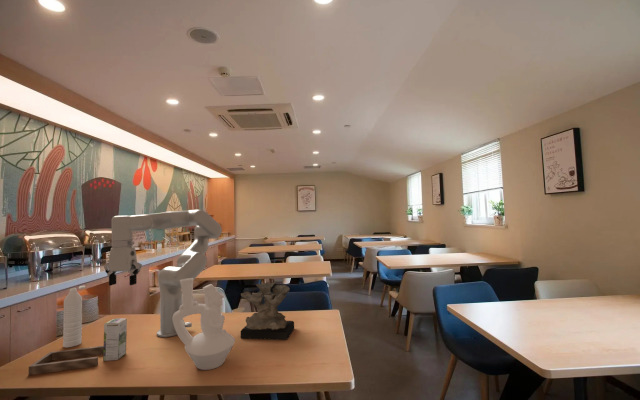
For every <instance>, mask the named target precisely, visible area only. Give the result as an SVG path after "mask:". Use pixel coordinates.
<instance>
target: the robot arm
mask: <svg viewBox="0 0 640 400" xmlns="http://www.w3.org/2000/svg"><path fill="white" fill-rule="evenodd" d="M187 227H195V228H194V231H193V233H194V234H193V235H194V236H193V237H194V238H193V239H194V240H193V242H192V243H191V244H190V246H189V247H188V248H186V249H185V251H183V252H182V253H181V254H180V255H179V256H178V258H177V260H176V265H177V266H174V265H170V266H169V265H168V266H166V267H164V268H162V269H161V270H160V271H159V273H158V275H157V276H158V278H157V279H158V280H157V281H158V287H159V292H160V293H159V294H160V299H159V303H160V304H159V305H160V306H159V307H160V308H159V309H160V311H159V312H160V318H159V319H160V321H159V322H160V324H159V325H160V326H159V327H160V329H158V330H157V332H156V336H157V337H160V338H168V337H175V336H178V334H177V332H176V330H175V328H174V324H173V320H172V317H173V314H174V313H175V312H177V311H178V310H179V307H180V306H181V305H183V295H182V288H181V284H180V280H182V279H187V278H193V281H194V280H196V278H197V277H198V276H199V275H200V274H201V273H202V272H203V270H205V268H206V266H207V264H208V257H207V256H206V253H207V251H208V249H209V239H210V240H211V239H213V240H214V239H218V238H219V237H220V236H221V235H222V233H223V229H222V225H220V223H219V222H218V221H217V220H216V219H214V218H213V216H211V215H210V214H209V213H208V212H206V211H205V210H203V209H189V210H188V209H187V210H173V211H163V212H157V213H146V214H133V215H115V216H112V218H111V248H110V252H109V258H108V262H107V263H106V264H104V265H103V268H104V271H105V272H104V273H106V274H107V277H108V286H109V287H110V286H113V285H117V272H118V273H119V272H128V273H129V286H134V285H136V284H137V281H138V279H137V275H138V274H139V272H140V271H141V268H142V266H143V265H142V264H141V263H140V262H139V261H138V257H137V251H136V247H135V246H133V245H134V244H135V241H134V240H133V238H134V237H133V232H148V231H149V230H168V229H170V230H171V229H178V228H187ZM183 323H184V325H185V327H186V328H192V327H193V324H192V323H193V322H190V321H188V322H185V319H183Z"/></svg>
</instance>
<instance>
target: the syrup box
mask: <svg viewBox="0 0 640 400" xmlns="http://www.w3.org/2000/svg"><path fill="white" fill-rule="evenodd" d="M127 325H128V318H122V317H120V318H119V317H118V318H112V319H111V320H109V321H107V322H105V323H104V325H103V346H104V350H103V354H102V355H103V359H102V360H103V361H104V362H106V361H108V362H109V361H117V360H120V359H121V358H122V357H123V356H125V355H127V336H128V335H127V330H128V328H127V327H128V326H127Z"/></svg>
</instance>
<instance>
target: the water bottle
mask: <svg viewBox="0 0 640 400" xmlns="http://www.w3.org/2000/svg"><path fill="white" fill-rule="evenodd" d="M86 287H87V286H86V285H80V286H78V289H79V290H81V289H85V288H86ZM78 289H77V287H73V288H72V287H71V288H70V289H69V292H68V294H67V295H66V296H65V297H64V299H63V319H62V320H63V326H62V327H63V332H62V333H63V334H62V340H63V341H62V347H63V348H65V349H66V348H73V347H77V346H79V345H81V344H82V343H83V341H82V340H83V338H82V335H83V329H82V327H83V320H82V319H83V297H82V295H81V294H80V293H79V292H78Z"/></svg>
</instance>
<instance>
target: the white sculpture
mask: <svg viewBox="0 0 640 400" xmlns="http://www.w3.org/2000/svg"><path fill="white" fill-rule="evenodd" d="M180 284H181V290H182V305H181V306H180V307H179V310H178V311H177V312H175V313H174V314H173V317H172V320H173V324H174V328H175V330H176V332H177V334H178V335H177V336H178V338H179V339H180V341H181V342H182V343H183V344H184V350H185V352H186V354H187V355H188V356H189V358H190V359H191V361H193V363H194V366H195V367H196V368H197V369H198V370H202V371H209V370H214V369H217V368H219V367H221V366H222V365H223V364H224V363H225V361H226V359H227V357H228V355H229V354H230V352H231V350H232V348H233V346H234V345H235V342H236V338H235V337H234V336H233V335H232V334H231V333H229V332H227V330H226V328H225V329H224V323H225V319H226V318H225V315H224V314H223V313H222V312H221V308H220V307H221V306H222V305H223V299H224V298H225V295H223V294H221V293H220V292H219V290H217V289H216V287H215V285H213V284H212V283H209V284H207V285H205V286H203V287H202V291H203V295H204V296H203V298H204V303H199V302H198V301H197V300H195V299H194V292H193V291H194V289H193V288H194V280H193V278H187V279H182V280H180ZM194 300H195V301H194ZM197 314H200V319H199V320H200V328H201V331H202V332H199V333H197V334H195V335H194V336H193V335H191V333H190V332H189V331H188V329H187V327H185V325H184V323H183V320H184V318H186V317H189V316H192V315H197Z"/></svg>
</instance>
